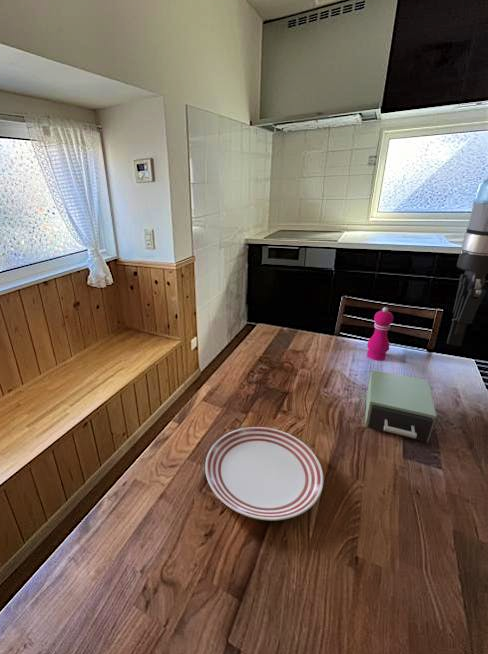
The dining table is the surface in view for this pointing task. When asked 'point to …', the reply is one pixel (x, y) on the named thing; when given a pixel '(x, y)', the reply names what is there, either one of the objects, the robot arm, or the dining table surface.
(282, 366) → the glasses
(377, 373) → the mint green cabinet
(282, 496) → the dinner plate
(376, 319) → the pepper mill
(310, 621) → the dining table surface
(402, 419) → the drawer
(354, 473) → the dining table surface
